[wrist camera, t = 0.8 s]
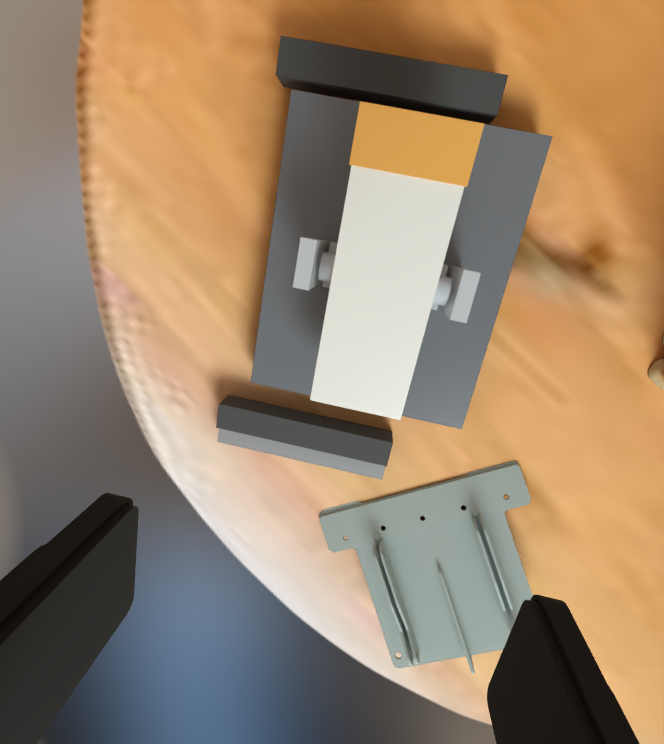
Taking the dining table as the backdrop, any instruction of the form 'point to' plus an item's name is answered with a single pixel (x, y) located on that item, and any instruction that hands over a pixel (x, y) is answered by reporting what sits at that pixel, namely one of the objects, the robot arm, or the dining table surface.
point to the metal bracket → (440, 563)
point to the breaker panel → (324, 218)
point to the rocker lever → (390, 254)
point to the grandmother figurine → (657, 372)
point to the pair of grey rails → (381, 86)
